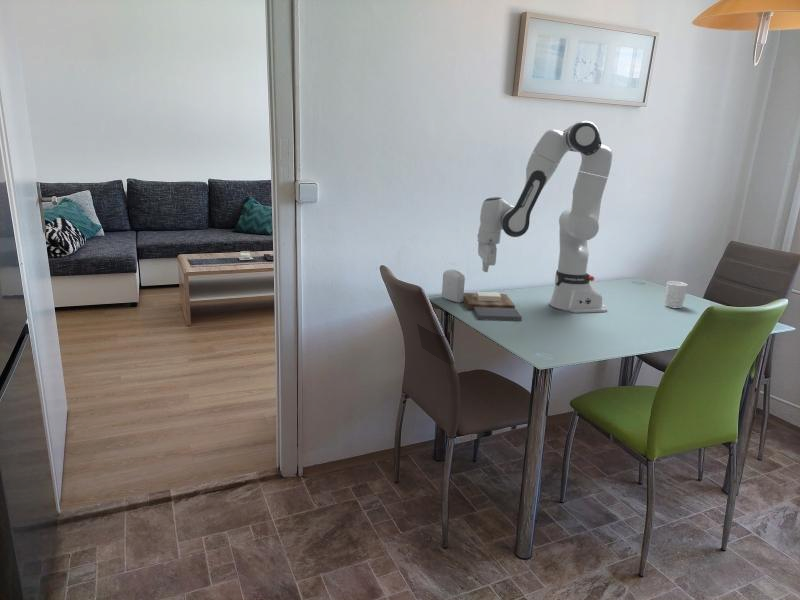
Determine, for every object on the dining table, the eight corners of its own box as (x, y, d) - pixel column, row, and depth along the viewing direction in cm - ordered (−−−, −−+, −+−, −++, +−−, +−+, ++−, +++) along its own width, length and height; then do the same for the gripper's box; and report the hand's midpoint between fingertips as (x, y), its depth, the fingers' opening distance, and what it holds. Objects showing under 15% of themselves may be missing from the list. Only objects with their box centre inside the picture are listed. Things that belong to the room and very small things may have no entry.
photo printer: (440, 297, 240) (441, 268, 237) (447, 296, 243) (449, 267, 239) (456, 303, 232) (459, 273, 229) (464, 302, 235) (467, 272, 231)
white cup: (673, 303, 246) (677, 280, 244) (687, 308, 239) (692, 285, 236) (658, 304, 244) (662, 281, 241) (672, 309, 237) (676, 286, 234)
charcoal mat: (514, 311, 225) (515, 308, 224) (521, 320, 214) (521, 316, 214) (473, 310, 224) (474, 306, 223) (478, 319, 213) (478, 315, 213)
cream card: (497, 297, 235) (498, 292, 234) (501, 301, 229) (501, 296, 228) (475, 296, 234) (476, 291, 234) (478, 300, 228) (478, 295, 228)
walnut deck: (505, 300, 240) (506, 294, 240) (514, 311, 225) (515, 305, 224) (462, 298, 239) (463, 292, 239) (468, 310, 224) (468, 304, 223)
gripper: (502, 243, 223) (497, 278, 227) (492, 234, 242) (488, 266, 246) (485, 242, 223) (481, 277, 226) (477, 233, 242) (473, 265, 246)
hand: (485, 271), depth 237 cm, fingers closed
